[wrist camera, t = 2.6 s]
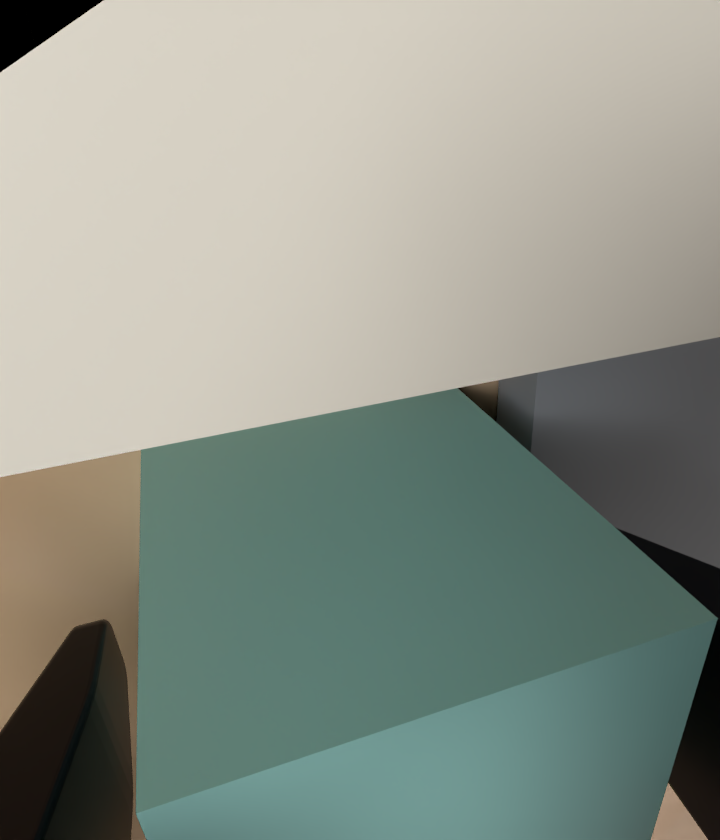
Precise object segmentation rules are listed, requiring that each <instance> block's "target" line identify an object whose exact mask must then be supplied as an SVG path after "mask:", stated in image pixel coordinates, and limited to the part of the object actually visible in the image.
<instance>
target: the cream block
mask: <svg viewBox="0 0 720 840" xmlns="http://www.w3.org/2000/svg"><path fill="white" fill-rule="evenodd" d="M717 337H720V0H103V1H102V2H100V3H99V4H98V5H96V6H95V7H93V8H92V9H90V10H89V11H88V12H86V13H85V14H83V15H82V16H80V17H79V18H78V19H76V20H75V21H73V22H72V23H70V24H69V25H67V26H66V27H65V28H63V29H62V30H60V31H59V32H57V33H56V34H55V35H53V36H52V37H50V38H49V39H47V40H46V41H45V42H43V43H42V44H40V45H39V46H37V47H36V44H35V41H34V37H33V33H32V29H31V25H30V22H29V18H28V14H27V10H26V7H25V3H24V0H0V477H3V476H8V475H14V474H19V473H24V472H29V471H34V470H39V469H44V468H50V467H55V466H60V465H65V464H70V463H75V462H80V461H85V460H91V459H96V458H101V457H106V456H111V455H116V454H121V453H127V452H132V451H137V450H142V449H147V448H152V447H157V446H163V445H168V444H173V443H178V442H183V441H188V440H193V439H199V438H204V437H209V436H214V435H219V434H224V433H229V432H234V431H240V430H245V429H250V428H255V427H260V426H265V425H270V424H276V423H281V422H286V421H291V420H296V419H301V418H306V417H312V416H317V415H322V414H327V413H332V412H337V411H342V410H348V409H353V408H358V407H363V406H368V405H373V404H378V403H383V402H389V401H394V400H399V399H404V398H409V397H414V396H419V395H425V394H430V393H435V392H440V391H445V390H450V389H455V388H461V387H466V386H471V385H476V384H481V383H486V382H491V381H497V380H502V379H507V378H512V377H517V376H522V375H527V374H532V373H538V372H543V371H548V370H553V369H558V368H563V367H568V366H574V365H579V364H584V363H589V362H594V361H599V360H604V359H610V358H615V357H620V356H625V355H630V354H635V353H640V352H645V351H651V350H656V349H661V348H666V347H671V346H676V345H681V344H687V343H692V342H697V341H702V340H707V339H712V338H717Z"/></svg>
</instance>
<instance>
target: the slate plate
mask: <svg viewBox="0 0 720 840" xmlns="http://www.w3.org/2000/svg"><path fill="white" fill-rule="evenodd" d="M497 423H498V424H499V425H500V426H501V427H502V428H503V429H504V430H505V431H507V432H508V433H509V434H510V435H511V436H512V437H513V438H514V439H516V440H517V441H518V442H519V443H520V444H521V445H522V446H524V447H525V448H526V449H527V450H528V451H529V452H530V453H531V454H533V455H534V456H535V457H536V458H537V459H538V460H539V461H540V462H542V463H543V464H544V465H545V466H546V467H547V468H548V469H550V470H551V471H552V472H553V473H554V474H555V475H556V476H557V477H559V478H560V479H561V480H562V481H563V482H564V483H565V484H567V485H568V486H569V487H570V488H571V489H572V490H573V491H574V492H576V493H577V494H578V495H579V496H580V497H581V498H582V499H583V500H585V501H586V502H587V503H588V504H589V505H590V506H591V507H593V508H594V509H595V510H596V511H597V512H598V513H599V514H600V515H602V516H603V517H604V518H605V519H606V520H607V521H608V522H609V523H611V524H612V525H613V526H614V527H615V528H618V529H621V530H623V531H626V532H628V533H631V534H633V535H636V536H638V537H641V538H644V539H646V540H649V541H651V542H654V543H656V544H659V545H662V546H664V547H667V548H669V549H672V550H674V551H677V552H679V553H682V554H685V555H687V556H690V557H692V558H695V559H697V560H700V561H702V562H705V563H708V564H710V565H713V566H715V567H718V568H720V337H717V338H712V339H707V340H702V341H697V342H692V343H687V344H681V345H676V346H671V347H666V348H661V349H656V350H651V351H645V352H640V353H635V354H630V355H625V356H620V357H615V358H610V359H604V360H599V361H594V362H589V363H584V364H579V365H574V366H568V367H563V368H558V369H553V370H548V371H543V372H538V373H532V374H527V375H522V376H517V377H512V378H507V379H502V380H499V387H498V405H497Z"/></svg>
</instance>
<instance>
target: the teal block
mask: <svg viewBox="0 0 720 840" xmlns="http://www.w3.org/2000/svg"><path fill="white" fill-rule="evenodd" d="M717 619H718V618H717V617H716V616H715V615H713V614H712V613H711V612H710V611H709V610H708V609H707V608H706V607H704V606H703V605H702V604H701V603H700V602H699V601H698V600H697V599H695V598H694V597H693V596H692V595H691V594H690V593H689V592H687V591H686V590H685V589H684V588H683V587H682V586H681V585H680V584H678V583H677V582H676V581H675V580H674V579H673V578H672V577H671V576H669V575H668V574H667V573H666V572H665V571H664V570H663V569H661V568H660V567H659V566H658V565H657V564H656V563H655V562H654V561H652V560H651V559H650V558H649V557H648V556H647V555H646V554H645V553H643V552H642V551H641V550H640V549H639V548H638V547H637V546H635V545H634V544H633V543H632V542H631V541H630V540H629V539H628V538H626V537H625V536H624V535H623V534H622V533H621V532H620V531H619V530H617V529H616V528H615V527H614V526H613V525H612V524H611V523H609V522H608V521H607V520H606V519H605V518H604V517H603V516H602V515H600V514H599V513H598V512H597V511H596V510H595V509H594V508H593V507H591V506H590V505H589V504H588V503H587V502H586V501H585V500H583V499H582V498H581V497H580V496H579V495H578V494H577V493H576V492H574V491H573V490H572V489H571V488H570V487H569V486H568V485H567V484H565V483H564V482H563V481H562V480H561V479H560V478H559V477H557V476H556V475H555V474H554V473H553V472H552V471H551V470H550V469H548V468H547V467H546V466H545V465H544V464H543V463H542V462H540V461H539V460H538V459H537V458H536V457H535V456H534V455H533V454H531V453H530V452H529V451H528V450H527V449H526V448H525V447H524V446H522V445H521V444H520V443H519V442H518V441H517V440H516V439H514V438H513V437H512V436H511V435H510V434H509V433H508V432H507V431H505V430H504V429H503V428H502V427H501V426H500V425H499V424H498V423H496V422H495V421H494V420H493V419H492V418H491V417H490V416H488V415H487V414H486V413H485V412H484V411H483V410H482V409H481V408H479V407H478V406H477V405H476V404H475V403H474V402H473V401H472V400H470V399H469V398H468V397H467V396H466V395H465V394H464V393H462V392H461V391H460V390H459V389H458V388H455V389H450V390H445V391H440V392H435V393H430V394H425V395H419V396H414V397H409V398H404V399H399V400H394V401H389V402H383V403H378V404H373V405H368V406H363V407H358V408H353V409H348V410H342V411H337V412H332V413H327V414H322V415H317V416H312V417H306V418H301V419H296V420H291V421H286V422H281V423H276V424H270V425H265V426H260V427H255V428H250V429H245V430H240V431H234V432H229V433H224V434H219V435H214V436H209V437H204V438H199V439H193V440H188V441H183V442H178V443H173V444H168V445H163V446H157V447H152V448H147V449H142V450H141V493H140V560H139V628H138V695H137V763H136V815H137V818H138V820H139V823H140V825H141V828H142V830H143V832H144V835H145V837H146V840H651V837H652V833H653V830H654V827H655V823H656V820H657V817H658V814H659V810H660V807H661V804H662V800H663V797H664V794H665V790H666V787H667V784H668V781H669V777H670V774H671V771H672V767H673V764H674V761H675V758H676V754H677V751H678V748H679V744H680V741H681V738H682V734H683V731H684V728H685V725H686V721H687V718H688V715H689V711H690V708H691V705H692V701H693V698H694V695H695V692H696V688H697V685H698V682H699V678H700V675H701V672H702V669H703V665H704V662H705V659H706V655H707V652H708V649H709V645H710V642H711V639H712V636H713V632H714V629H715V626H716V622H717Z"/></svg>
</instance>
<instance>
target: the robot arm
mask: <svg viewBox="0 0 720 840" xmlns="http://www.w3.org/2000/svg"><path fill="white" fill-rule="evenodd" d="M616 529H617V530H619V531H620V532H621V533H622V534H623V535H624V536H625V537H626V538H628V539H629V540H630V541H631V542H632V543H633V544H634V545H635V546H637V547H638V548H639V549H640V550H641V551H642V552H643V553H645V554H646V555H647V556H648V557H649V558H650V559H651V560H652V561H654V562H655V563H656V564H657V565H658V566H659V567H660V568H661V569H663V570H664V571H665V572H666V573H667V574H668V575H669V576H671V577H672V578H673V579H674V580H675V581H676V582H677V583H678V584H680V585H681V586H682V587H683V588H684V589H685V590H686V591H687V592H689V593H690V594H691V595H692V596H693V597H694V598H695V599H697V600H698V601H699V602H700V603H701V604H702V605H703V606H704V607H706V608H707V609H708V610H709V611H710V612H711V613H712V614H713V615H715V616H716V617H717V618H718V619H717V622H716V626H715V629H714V632H713V636H712V639H711V642H710V645H709V649H708V652H707V655H706V659H705V662H704V665H703V669H702V672H701V675H700V678H699V682H698V685H697V688H696V692H695V695H694V698H693V701H692V705H691V708H690V711H689V715H688V718H687V721H686V725H685V728H684V731H683V734H682V738H681V741H680V744H679V748H678V751H677V754H676V758H675V761H674V764H673V767H672V771H671V774H670V777H669V781H668V783H669V784H670V786H671V787H672V789H673V790H674V792H675V793H676V794H677V796H678V797H679V799H680V800H681V802H682V803H683V804H684V806H685V807H686V809H687V810H688V811H689V813H690V814H691V816H692V817H693V819H694V820H695V821H696V823H697V824H698V826H699V827H700V829H701V830H702V831H703V833H704V834H705V836H706V837H707V839H708V840H720V568H718V567H715V566H713V565H710V564H708V563H705V562H702V561H700V560H697V559H695V558H692V557H690V556H687V555H685V554H682V553H679V552H677V551H674V550H672V549H669V548H667V547H664V546H662V545H659V544H656V543H654V542H651V541H649V540H646V539H644V538H641V537H638V536H636V535H633V534H631V533H628V532H626V531H623V530H621V529H618V528H616ZM132 812H133V775H132V757H131V739H130V721H129V703H128V685H127V674H126V668H125V663H124V660H123V657H122V654H121V651H120V649H119V646H118V643H117V640H116V637H115V634H114V631H113V628H112V626H111V624H110V623H109V621H107V620H104V619H103V620H98V621H94V622H91V623H87V624H83V625H79V626H77V627H75V628H74V629H73V630H72V631H71V632H70V633H69V635H68V636H67V637H66V639H65V640H64V642H63V643H62V645H61V646H60V647H59V649H58V650H57V652H56V653H55V655H54V656H53V657H52V659H51V660H50V662H49V663H48V665H47V666H46V667H45V669H44V670H43V672H42V673H41V675H40V676H39V677H38V679H37V680H36V682H35V683H34V684H33V686H32V687H31V689H30V690H29V692H28V693H27V694H26V696H25V697H24V699H23V700H22V702H21V703H20V704H19V706H18V707H17V709H16V710H15V712H14V713H13V714H12V716H11V717H10V719H9V720H8V722H7V723H6V724H5V726H4V727H3V729H2V730H1V732H0V840H131V830H132Z"/></svg>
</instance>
